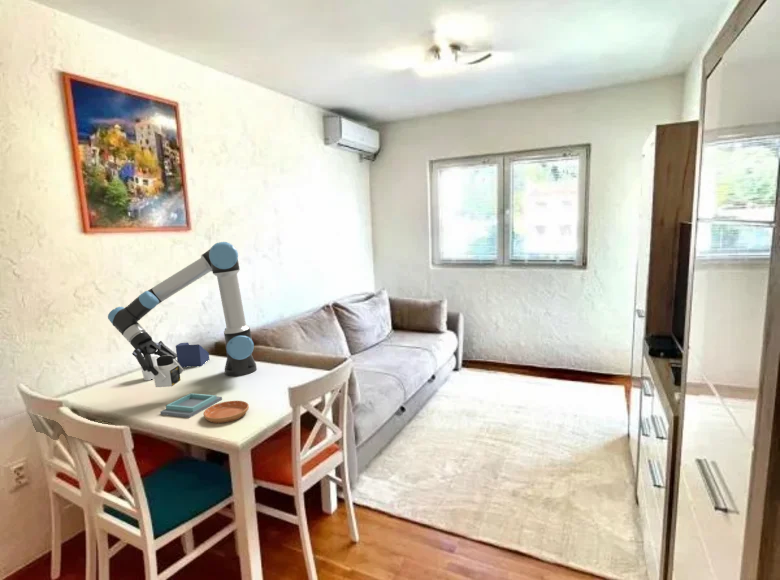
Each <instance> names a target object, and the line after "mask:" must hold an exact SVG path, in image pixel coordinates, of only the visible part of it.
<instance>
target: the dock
mask: <svg viewBox="0 0 780 580" xmlns="http://www.w3.org/2000/svg"><path fill="white" fill-rule="evenodd" d="M222 400H223V396H217V395H215V394H214V395H213V394H203V393H193V392H192V393H188V394H186V395H184V396H182V397H180V398H178V399H176V400H175V401H172V402H170V403H168V404H166V405H165V408H164V409H163V410H160V411H159V413H160V415H161V416H162V415H163V416H170V417H171V416H172V417H180V418H181V417H182V418H192V417H194V416H195V415H197V414H199V413H200V412H202V411H203V412H204V411H205V410H206V409H207V408H209V407H211V406H213V405H215V404H218V402H219V403H220V402H221V401H222Z"/></svg>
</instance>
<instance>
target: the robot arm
mask: <svg viewBox="0 0 780 580" xmlns="http://www.w3.org/2000/svg"><path fill="white" fill-rule="evenodd" d="M239 264H240V263H239V253H238V250H237V249H236V247H235V246H234V245H233V244H232V243H230V242H227V241H219V242H217V243H215V244H213V245H212V246H211V247H210V248H209V249H208V250H207V251H205V252H203V253H202V254H201V255H200V258H198V259H196V260H195V261H194V262H192V263H190V264H188V265H187V266H186V267H184V268H182V269H181V270H179V271H177V272H175V273H174V274H172V275H170V276H169V277H167V278H166V279H164V280H163V281H160V282H159V283H158V284H156V285H154V286H152V287H151V288H150V289H148V290H145V291H143V292H142V293H140V295H138V296H137V297H136V298H135V299H134V300H132V301H131V302H130V303H129V304H128V305H126V306H125V307H124V306H117V307H115V308H113V309H112V310H111V311H109V313H108V314H107V319H108V321H109V322H110V323H111V324H112V326H113V327H114V328H115V329H116V330H117V332H119V333H120V334H121V335H122V336H123V338H124V339H126V340H127V342H128V343H130V346H131V347H133V348H134V350H133V351H132V353H131V354H132V356H134V357H135V359H136V360H137V362H138V364H139V365H140V368H141V367H142V369H143V370H144V371H146V370H147V371H148V372H150V371H151V372H152V373H153V374H154V375H155V376H157V377H158V378H159V379H160V380H161V382H163V381H164V380H165V378H166V376H165V375H164V374H163V373H162V372H161V371H160V369H159V368H158V367H157V366H154V365H153V362H152V358H151V356H152V355H154V356H158V357H160V356H164V355H171V356H173V362H174V365H179V372H180V375H181V374H182V373H183V372H184V371H185V368H184V367H183V368H182V367H181V366H180V363H179V362H178V361H177V356H178V355H177V353H176V352H175V351H173V350H172V349H170V348H169V347H168V346H167V345H165V343H164V342H163V341H162V340H160V341H159V342H155V341H154V340H153V338H152V336H151V335H150V334H149V333H148V332H147V331H146V329H144V328H143V326H142V325H141V324H140V323H139V321H140V320H141V319H142V318H143V317H145V316H146V315H147V314H148V313H150V311H152V310H153V309H155V308H156V306H157V305H160V304H161V303H162V302H164V301H166V300H168V299H169V298H170V297H172V296H173V295H175V294H177V293H178V292H180V291H181V290H183V289H185V288H186V287H188V286H189V285H191V284H192V283H194V282H197V280H199V279H201V278H202V277H204V276H206V275H207V274H209V273H210V272H211V273H212V275H213V276H215V277H217V278H216V279H217V284H218V288H219V294H220V295H219V296H220V299H221V305H222V311H223V315H224V321H225V326H226V328H224V331H223V336H224V340H225V342H224V343H225V349H226V362H225V366H224V374H225V375H226V376H231V377H233V376H234V377H237V376H245V375H248V374H251V373H254V372H255V371H257V369H258V368H257V363H256V361H255V359H254V356H253V355H252V354H253V352H254V348H255V343H254V341H253V338H252V332H251V327H250V326H249V325H248V324H247V323H246V318H245V312H244V305H243V302H242V301H243V300H242V295H241V289H240V284H239V279H238V273H239V272H240V271H241V270H240V265H239ZM144 358H145V359H144ZM142 369H141V370H142Z"/></svg>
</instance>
